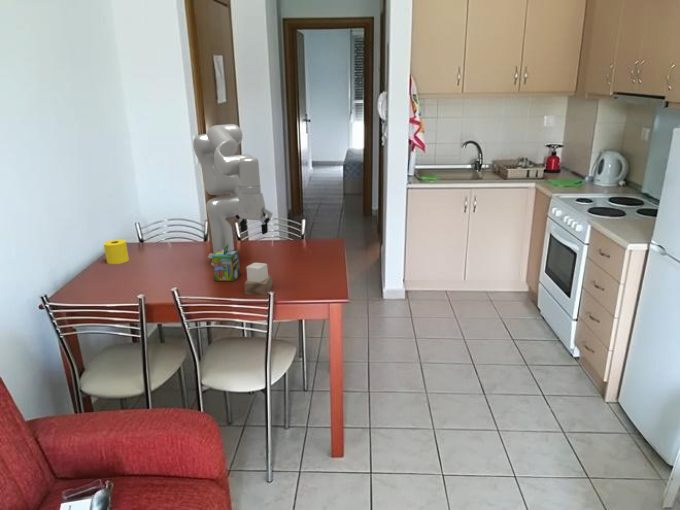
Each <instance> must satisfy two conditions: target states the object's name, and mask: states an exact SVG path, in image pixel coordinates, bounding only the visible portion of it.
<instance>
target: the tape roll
mask: <svg viewBox="0 0 680 510" xmlns="http://www.w3.org/2000/svg"><path fill="white" fill-rule="evenodd" d="M103 247H104V253H105V254H104V255H105V259H106V263H107V264H108V265H119V264H123V263H125V262H128V261H129V260H130V258H129V252H128V246H127V240H126V239H121V238H119V239H118V238H117V239H112V240H107V241H105V242H104V243H103Z"/></svg>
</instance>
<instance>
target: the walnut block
mask: <svg viewBox="0 0 680 510" xmlns="http://www.w3.org/2000/svg"><path fill="white" fill-rule="evenodd" d="M273 286H274V285H273V276H272V275H268V278H267V279H265V280H264V281H262V282H261V283H258V282H251V281H248V279H246V281H245V282H244V294H245V295H252V296H253V295H258V296H259V295H260V296H262V295H263V296H267V295H268V294H267V292H268V291H269V292H270V291H271V290H272V289H273ZM266 294H267V295H266Z"/></svg>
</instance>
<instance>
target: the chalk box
mask: <svg viewBox="0 0 680 510" xmlns="http://www.w3.org/2000/svg"><path fill="white" fill-rule="evenodd" d="M226 248H227V249H226ZM213 254H214V253H213ZM212 259H213V266H212V267H213V277H214V281H216V282H218V281H219V282H235V281H236V280H237V278H238V277H240V275H241V268H240V267H241V266H240V253H239V250H238V249H234V250H228V245H227V246H226V247H225V249H224V250H218V251H217V252H216V253H215V254H214V255H213V256H212ZM212 259H211V260H212Z"/></svg>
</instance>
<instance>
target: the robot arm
mask: <svg viewBox="0 0 680 510" xmlns="http://www.w3.org/2000/svg"><path fill="white" fill-rule="evenodd" d="M242 141H243V132H242V129H241V127H240V126H238V125H237V124H234V123H227V124H217V125H212V126H210V127H209V129H208V130H207V132H206V133H203V134H202V133H201V134H198V135H196V136H195V137H194V138H193V141H192V142H193V150H194V154H195V156H196V158H197V161H198V162H199V164H200V167H201V171H202V172H201V173H202V176H203V182H204V186H205V187H204V188H205V191H206V193H208V194H209V195H210V196H214V195H215V196H216V195H217V196H218V195H223V194H230V195H226V196H219V197H214V198H210V199H209V200H208V201H207V202H206V205H205V209H206V213H207V217H208V220H209V226H210V234H211V235H210V236H211V242H212V252H213V253H212V252H211V253H209V254H208V256H207V259H211V260H212V261H211V263H210V264H211V266H212V267H213V259H212V256H213V255H214V254H215V253H216V252H217V251H218V250H224V249H225V247H226V246H227V245H228V250H235V245H234V238H233V237H234V236H233V227H232V225H231V224H230V222H229V221H228V220H226V218H227V219H229V218H232V217H235V218H236V219H237V221H238V223H239V226H240V232H241V233H244V232H246V231H247V230H248V227H247V221H246V220H249V221H250V220H251V221H260V223H261V224H260V225H261V235H266V234H267V233H268V230H269V228H268V227H269V225H268V224H269V222H270V221H271V220H272V217H273V212H271V211H270V210H269V209H267V208H266V203H265V198H264V195H263V192H262V190H261V177H260V175H261V174H260V165H259V159H258V158H257V157H254V156H253V155H251V154H248V153H246V154H236V153H237V151H238V146H239V145H240V144H241V142H242ZM226 249H227V248H226Z"/></svg>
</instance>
